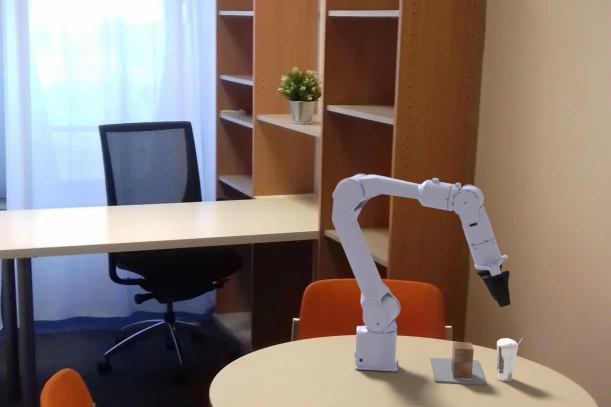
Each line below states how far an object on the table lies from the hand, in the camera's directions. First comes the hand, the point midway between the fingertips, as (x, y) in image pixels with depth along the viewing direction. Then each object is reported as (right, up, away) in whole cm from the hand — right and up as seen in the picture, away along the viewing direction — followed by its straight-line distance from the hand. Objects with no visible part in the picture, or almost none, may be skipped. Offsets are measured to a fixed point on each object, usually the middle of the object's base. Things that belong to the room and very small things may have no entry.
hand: (502, 302), depth 155 cm
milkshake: (+3, -18, +7) cm, 20 cm away
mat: (-7, -17, +10) cm, 21 cm away
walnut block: (-7, -17, +7) cm, 20 cm away
